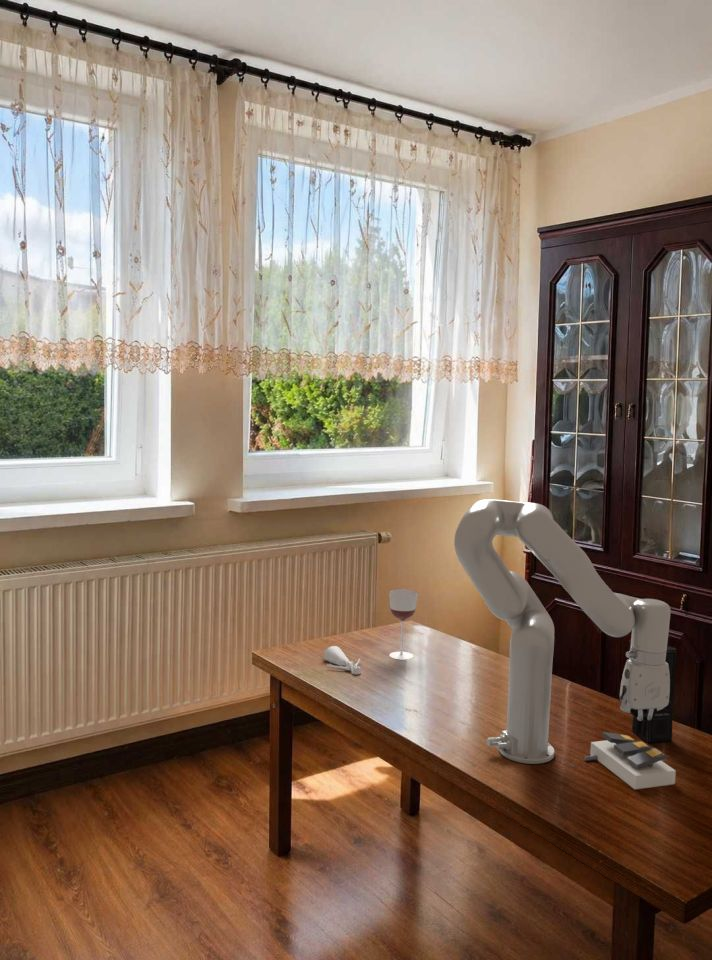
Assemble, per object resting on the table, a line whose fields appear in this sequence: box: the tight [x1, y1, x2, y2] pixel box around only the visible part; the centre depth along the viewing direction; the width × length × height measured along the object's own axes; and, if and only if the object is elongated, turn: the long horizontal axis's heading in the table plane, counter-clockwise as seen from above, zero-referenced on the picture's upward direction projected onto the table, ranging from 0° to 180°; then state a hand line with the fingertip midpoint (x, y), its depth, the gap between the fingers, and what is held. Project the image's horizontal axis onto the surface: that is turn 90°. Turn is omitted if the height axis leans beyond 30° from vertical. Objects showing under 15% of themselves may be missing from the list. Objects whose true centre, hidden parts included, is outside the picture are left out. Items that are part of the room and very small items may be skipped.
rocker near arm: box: [601, 731, 636, 744], centre depth 190 cm, size 7×4×2 cm, turn 107°
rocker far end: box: [627, 747, 666, 769], centre depth 181 cm, size 7×4×2 cm, turn 106°
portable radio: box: [641, 635, 677, 744], centre depth 201 cm, size 8×6×25 cm
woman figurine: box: [323, 645, 362, 676], centre depth 248 cm, size 12×4×18 cm
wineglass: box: [388, 588, 419, 661], centre depth 258 cm, size 8×9×20 cm
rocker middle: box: [614, 740, 652, 756], centre depth 186 cm, size 7×4×2 cm, turn 107°
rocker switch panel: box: [584, 739, 677, 790], centre depth 186 cm, size 13×17×3 cm
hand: (639, 734), depth 186 cm, fingers closed
